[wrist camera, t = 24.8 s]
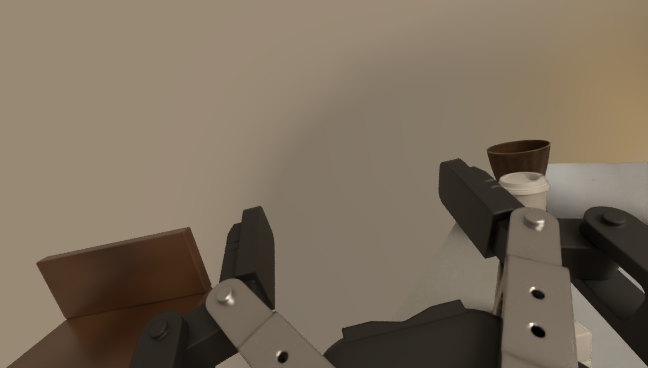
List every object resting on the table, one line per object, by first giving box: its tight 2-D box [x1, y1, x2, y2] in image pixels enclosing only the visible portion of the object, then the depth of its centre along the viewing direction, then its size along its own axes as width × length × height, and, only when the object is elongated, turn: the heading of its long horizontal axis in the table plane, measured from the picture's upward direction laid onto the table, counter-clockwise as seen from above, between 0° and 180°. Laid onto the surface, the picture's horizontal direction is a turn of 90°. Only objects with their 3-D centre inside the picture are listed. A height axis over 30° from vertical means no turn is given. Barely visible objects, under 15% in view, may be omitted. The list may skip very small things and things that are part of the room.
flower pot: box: [487, 140, 551, 182], centre depth 84 cm, size 15×15×16 cm
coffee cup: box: [498, 172, 550, 211], centre depth 64 cm, size 10×10×15 cm
